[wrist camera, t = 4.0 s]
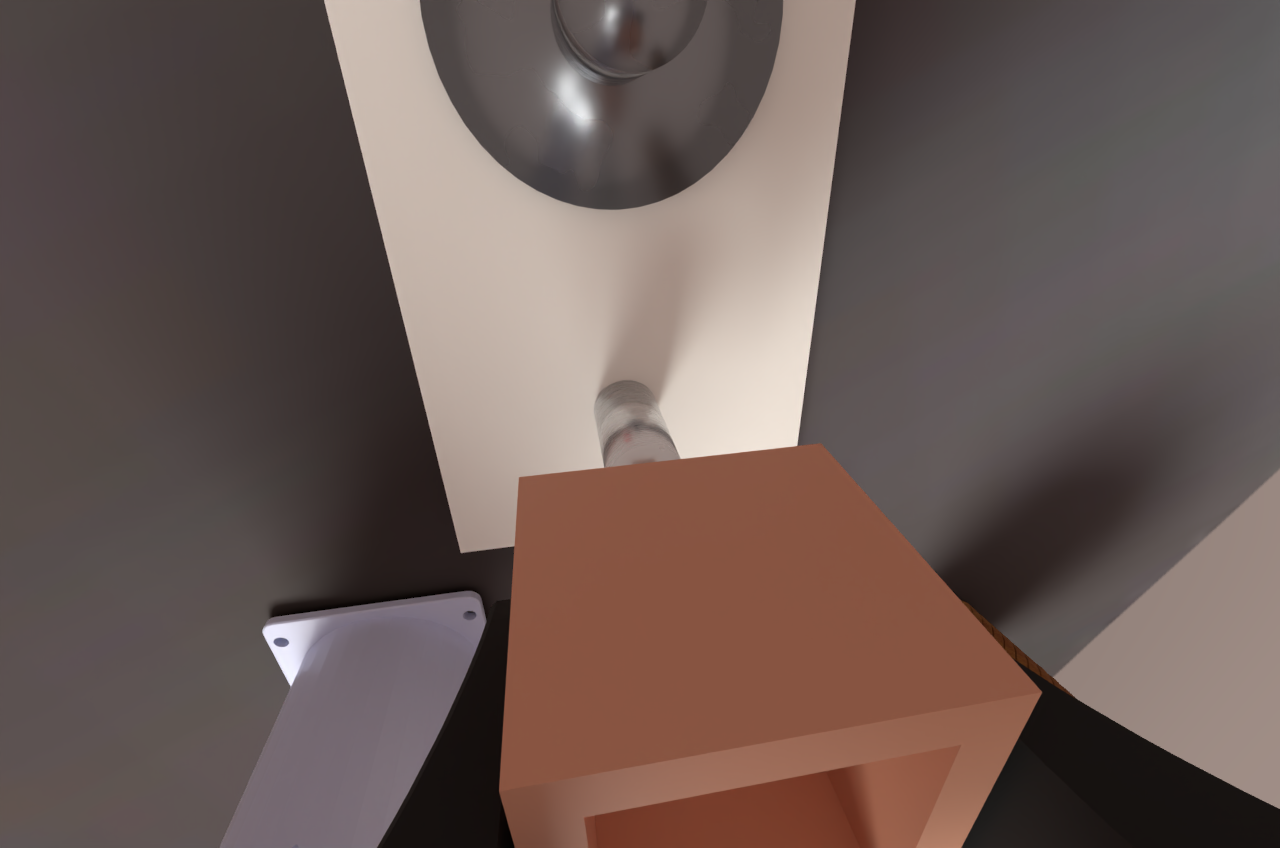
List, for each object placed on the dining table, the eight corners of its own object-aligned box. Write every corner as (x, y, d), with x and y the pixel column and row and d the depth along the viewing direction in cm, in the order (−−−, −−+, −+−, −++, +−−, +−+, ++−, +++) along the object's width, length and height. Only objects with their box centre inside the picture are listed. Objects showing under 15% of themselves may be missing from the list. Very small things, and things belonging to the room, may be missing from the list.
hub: (761, 200, 15) (828, 221, 11) (460, 215, 14) (433, 244, 10) (792, -226, 11) (909, -389, 7) (378, -247, 10) (291, -447, 6)
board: (773, 488, 22) (788, 511, 20) (465, 525, 20) (460, 553, 19) (856, -249, 12) (894, -294, 11) (277, -283, 10) (239, -341, 9)
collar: (789, 645, 12) (922, 920, 8) (552, 682, 12) (559, 1006, 7) (820, 443, 10) (1041, 692, 5) (518, 477, 9) (498, 791, 5)
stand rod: (656, 432, 18) (684, 506, 14) (595, 439, 18) (609, 515, 14) (655, 377, 17) (685, 441, 13) (591, 382, 17) (605, 450, 13)
